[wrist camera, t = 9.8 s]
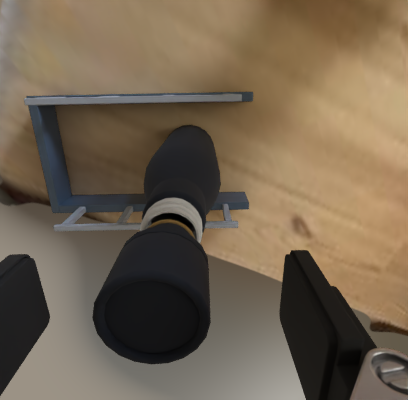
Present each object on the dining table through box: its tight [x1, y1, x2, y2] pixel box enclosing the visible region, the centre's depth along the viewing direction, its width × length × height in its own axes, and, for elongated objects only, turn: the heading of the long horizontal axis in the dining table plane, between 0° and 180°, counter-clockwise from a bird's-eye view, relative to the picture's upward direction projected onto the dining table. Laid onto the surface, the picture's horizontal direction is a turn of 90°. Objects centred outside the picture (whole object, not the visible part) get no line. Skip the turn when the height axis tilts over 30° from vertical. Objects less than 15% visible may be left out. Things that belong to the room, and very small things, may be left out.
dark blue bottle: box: [93, 125, 221, 364], centre depth 23 cm, size 6×6×30 cm
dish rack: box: [24, 92, 253, 231], centre depth 33 cm, size 25×14×10 cm, turn 91°
